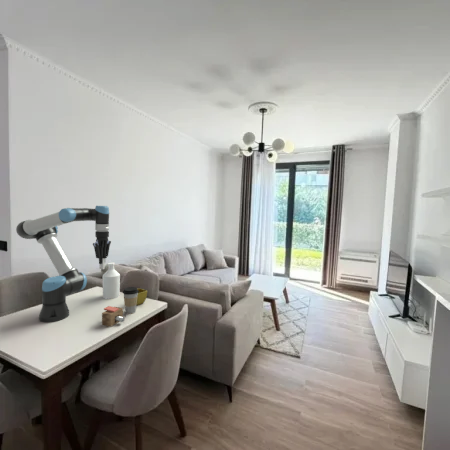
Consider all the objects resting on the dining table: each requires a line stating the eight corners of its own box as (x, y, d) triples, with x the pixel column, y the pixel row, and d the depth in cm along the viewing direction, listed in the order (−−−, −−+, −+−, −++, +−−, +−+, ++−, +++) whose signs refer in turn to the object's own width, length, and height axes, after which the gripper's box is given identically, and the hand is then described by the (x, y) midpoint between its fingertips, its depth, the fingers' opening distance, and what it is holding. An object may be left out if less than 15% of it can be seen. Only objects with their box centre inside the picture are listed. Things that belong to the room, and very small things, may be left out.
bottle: (100, 299, 184) (100, 265, 182) (104, 293, 196) (104, 261, 194) (118, 298, 186) (118, 264, 185) (121, 293, 198) (121, 261, 196)
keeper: (103, 309, 148) (103, 308, 148) (108, 307, 152) (108, 305, 152) (113, 312, 146) (113, 310, 146) (118, 309, 150) (118, 308, 150)
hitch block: (102, 325, 145) (102, 312, 145) (114, 317, 155) (114, 306, 154) (110, 326, 143) (110, 314, 143) (122, 319, 153) (122, 308, 152)
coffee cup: (133, 315, 159) (133, 292, 158) (119, 313, 160) (119, 290, 160) (141, 309, 168) (141, 287, 167) (128, 308, 170) (128, 286, 169)
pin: (103, 321, 148) (103, 314, 148) (109, 318, 152) (109, 311, 152) (120, 325, 145) (120, 317, 145) (125, 321, 149) (125, 314, 149)
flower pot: (147, 303, 180) (147, 290, 179) (137, 306, 173) (137, 293, 172) (139, 300, 185) (139, 288, 184) (129, 303, 177) (129, 291, 177)
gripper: (99, 232, 150) (99, 271, 151) (114, 230, 162) (114, 267, 164) (88, 231, 152) (88, 270, 154) (104, 229, 165) (104, 266, 166)
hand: (102, 268), depth 159 cm, fingers closed
